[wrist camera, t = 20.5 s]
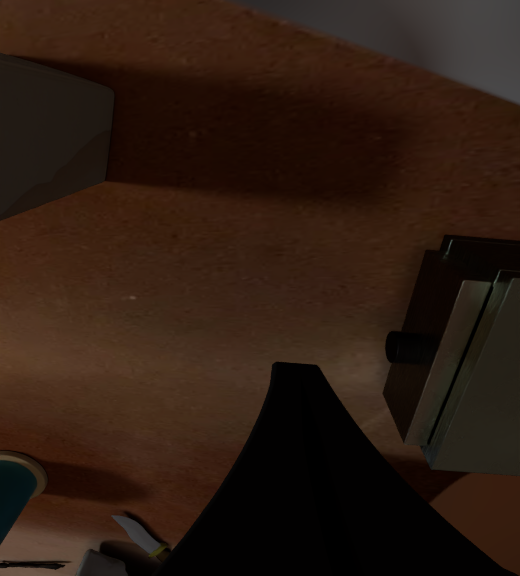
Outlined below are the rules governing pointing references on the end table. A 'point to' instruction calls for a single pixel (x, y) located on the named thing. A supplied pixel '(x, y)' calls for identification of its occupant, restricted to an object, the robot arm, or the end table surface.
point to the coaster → (30, 465)
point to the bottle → (13, 493)
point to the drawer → (432, 342)
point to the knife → (143, 538)
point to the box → (49, 134)
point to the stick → (32, 565)
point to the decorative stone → (100, 565)
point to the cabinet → (485, 371)
